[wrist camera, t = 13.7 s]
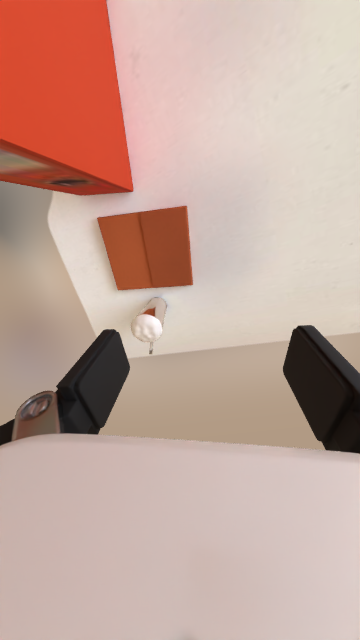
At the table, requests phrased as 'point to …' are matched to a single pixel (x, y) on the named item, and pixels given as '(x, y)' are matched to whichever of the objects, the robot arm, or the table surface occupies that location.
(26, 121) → the file binder
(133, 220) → the cloth
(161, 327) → the milkshake
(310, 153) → the table surface
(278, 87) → the table surface
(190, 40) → the table surface
